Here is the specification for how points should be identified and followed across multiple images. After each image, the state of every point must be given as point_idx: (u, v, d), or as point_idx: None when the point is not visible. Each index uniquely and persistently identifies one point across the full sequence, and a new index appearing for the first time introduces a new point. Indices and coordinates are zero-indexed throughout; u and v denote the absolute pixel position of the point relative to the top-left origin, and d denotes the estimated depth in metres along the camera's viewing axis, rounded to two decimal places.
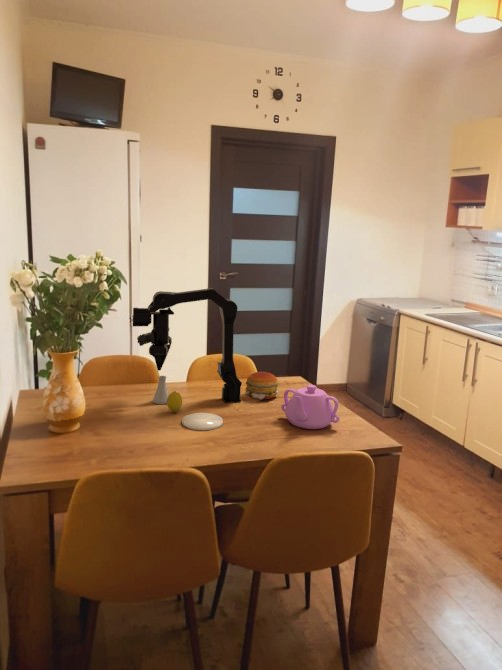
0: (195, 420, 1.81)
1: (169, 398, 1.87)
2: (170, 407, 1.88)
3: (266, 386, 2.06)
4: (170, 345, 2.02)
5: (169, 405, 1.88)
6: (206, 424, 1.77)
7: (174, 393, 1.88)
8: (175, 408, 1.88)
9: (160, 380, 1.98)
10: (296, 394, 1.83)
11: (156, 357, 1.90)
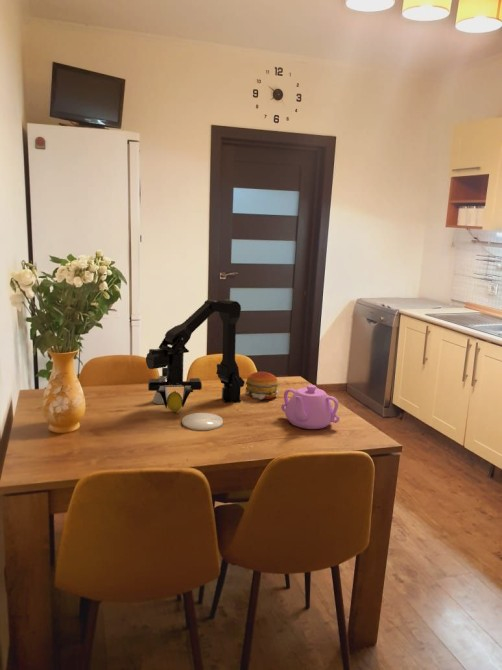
0: (195, 420, 1.81)
1: (169, 398, 1.87)
2: (170, 407, 1.88)
3: (266, 386, 2.06)
4: (187, 390, 1.87)
5: (169, 405, 1.88)
6: (206, 424, 1.77)
7: (174, 393, 1.88)
8: (175, 408, 1.88)
9: (160, 380, 1.98)
10: (296, 394, 1.83)
11: None
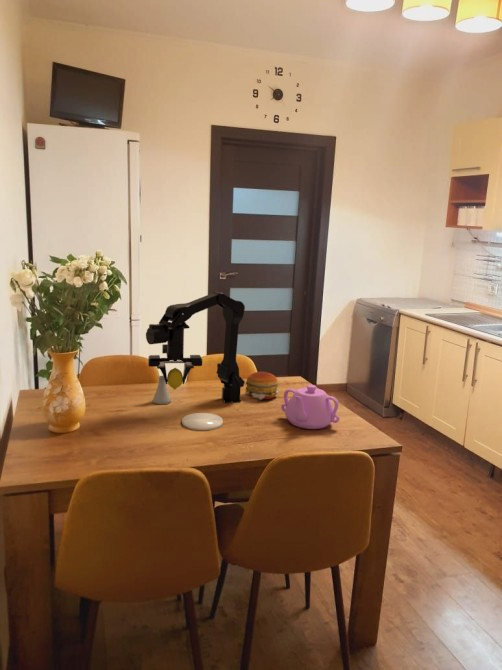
0: (195, 420, 1.81)
1: (169, 374, 1.86)
2: (170, 384, 1.86)
3: (266, 386, 2.06)
4: (188, 367, 1.85)
5: (169, 382, 1.86)
6: (206, 424, 1.77)
7: (174, 369, 1.86)
8: (175, 385, 1.86)
9: (160, 380, 1.98)
10: (296, 394, 1.83)
11: None
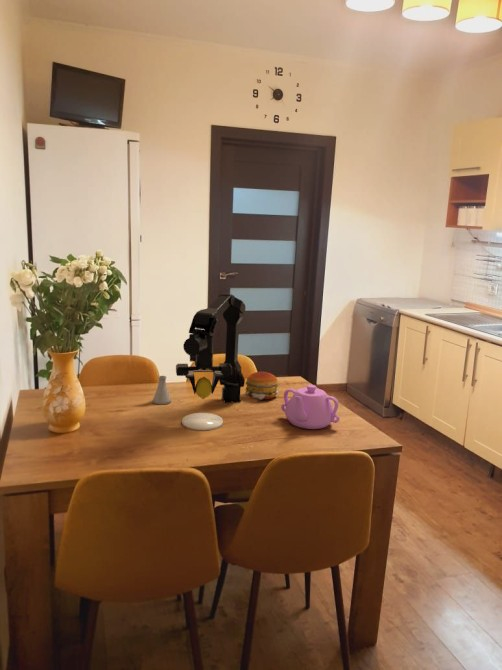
0: (195, 420, 1.81)
1: (198, 384, 1.77)
2: (199, 393, 1.77)
3: (266, 386, 2.06)
4: (218, 376, 1.76)
5: (198, 391, 1.77)
6: (206, 424, 1.77)
7: (203, 379, 1.78)
8: (204, 394, 1.77)
9: (160, 380, 1.98)
10: (296, 394, 1.83)
11: None
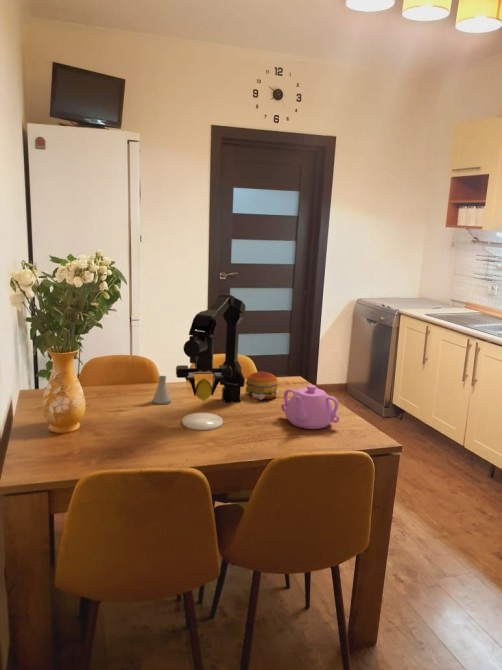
0: (195, 420, 1.81)
1: (198, 386, 1.77)
2: (199, 395, 1.77)
3: (266, 386, 2.06)
4: (218, 378, 1.76)
5: (198, 393, 1.77)
6: (206, 424, 1.77)
7: (203, 380, 1.78)
8: (204, 396, 1.77)
9: (160, 380, 1.98)
10: (296, 394, 1.83)
11: None
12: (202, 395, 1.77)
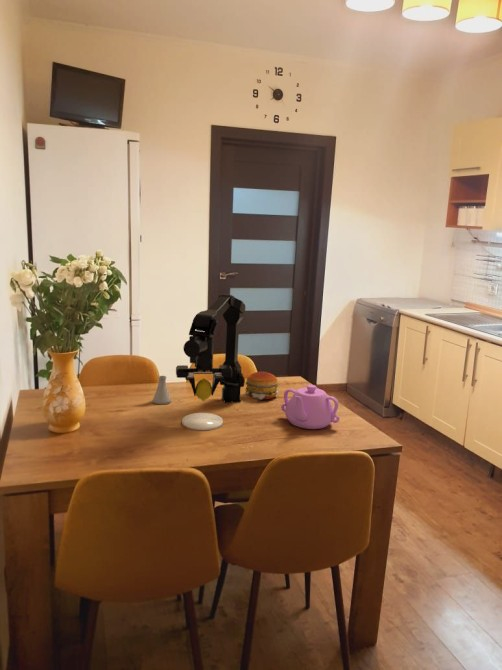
0: (195, 420, 1.81)
1: (198, 386, 1.77)
2: (199, 395, 1.77)
3: (266, 386, 2.06)
4: (218, 378, 1.76)
5: (198, 393, 1.77)
6: (206, 424, 1.77)
7: (203, 380, 1.78)
8: (204, 396, 1.77)
9: (160, 380, 1.98)
10: (296, 394, 1.83)
11: None
12: (202, 395, 1.77)
